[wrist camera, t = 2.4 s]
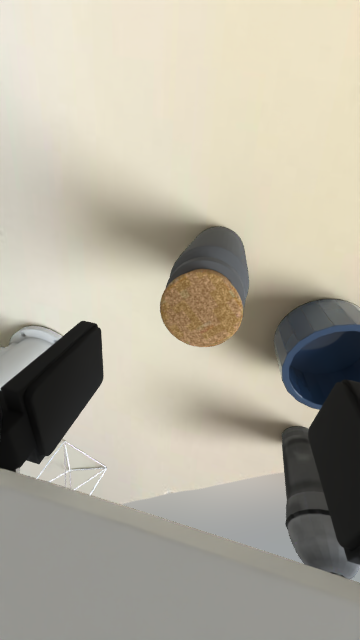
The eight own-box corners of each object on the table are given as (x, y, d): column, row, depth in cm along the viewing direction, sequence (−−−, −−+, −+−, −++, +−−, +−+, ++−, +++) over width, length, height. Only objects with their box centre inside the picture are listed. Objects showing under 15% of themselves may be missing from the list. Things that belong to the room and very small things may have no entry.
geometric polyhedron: (89, 481, 56) (66, 528, 48) (49, 457, 55) (18, 501, 47) (114, 461, 50) (92, 511, 42) (70, 433, 49) (38, 480, 41)
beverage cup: (289, 412, 35) (342, 631, 17) (335, 432, 35) (435, 672, 17) (263, 440, 38) (286, 644, 21) (305, 458, 38) (363, 677, 21)
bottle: (237, 218, 24) (240, 246, 11) (249, 272, 27) (263, 347, 14) (184, 236, 26) (134, 277, 13) (199, 285, 29) (169, 362, 16)
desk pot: (263, 364, 32) (269, 398, 27) (290, 290, 27) (303, 314, 22) (348, 382, 31) (371, 421, 25) (393, 308, 25) (433, 338, 20)
